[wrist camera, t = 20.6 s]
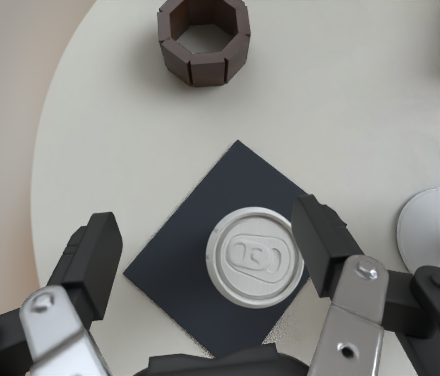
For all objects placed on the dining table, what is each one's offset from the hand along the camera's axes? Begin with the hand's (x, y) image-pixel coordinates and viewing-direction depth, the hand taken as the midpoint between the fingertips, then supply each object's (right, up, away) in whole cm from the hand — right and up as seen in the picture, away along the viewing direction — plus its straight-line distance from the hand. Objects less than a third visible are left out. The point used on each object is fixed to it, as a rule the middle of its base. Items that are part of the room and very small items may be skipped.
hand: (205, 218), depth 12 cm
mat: (+3, -5, +19) cm, 20 cm away
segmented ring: (-1, +19, +23) cm, 30 cm away
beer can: (+3, -6, +18) cm, 19 cm away
